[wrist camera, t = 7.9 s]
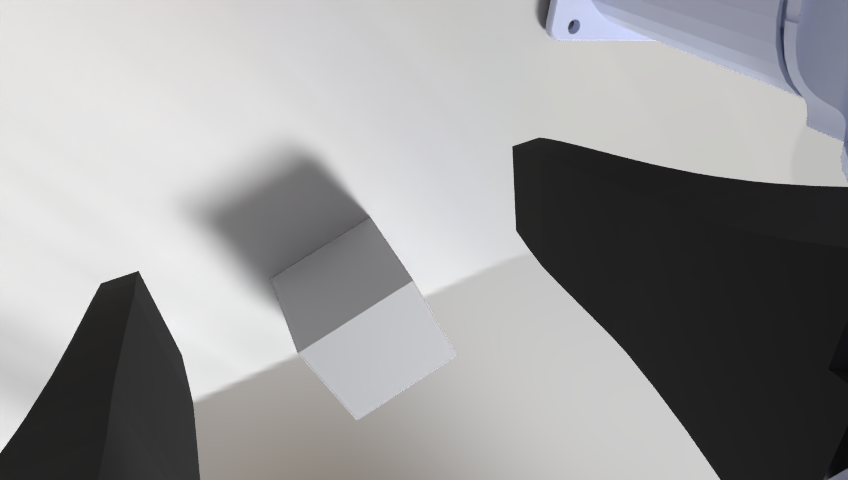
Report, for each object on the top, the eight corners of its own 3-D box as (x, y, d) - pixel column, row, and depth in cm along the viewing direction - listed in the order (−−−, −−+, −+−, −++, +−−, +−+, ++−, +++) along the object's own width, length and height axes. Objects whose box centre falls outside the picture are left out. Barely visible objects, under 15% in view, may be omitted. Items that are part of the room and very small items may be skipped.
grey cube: (369, 215, 24) (413, 280, 21) (413, 288, 27) (457, 355, 24) (269, 277, 24) (297, 353, 21) (324, 344, 27) (356, 420, 23)
